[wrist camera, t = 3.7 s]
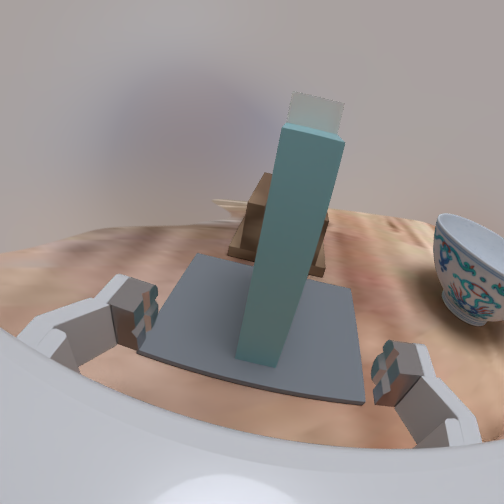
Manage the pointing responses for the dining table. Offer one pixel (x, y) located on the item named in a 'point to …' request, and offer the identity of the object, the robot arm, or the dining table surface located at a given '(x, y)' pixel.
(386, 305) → the dining table surface
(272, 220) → the teal rectangular block
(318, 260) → the rack
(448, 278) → the chinaware
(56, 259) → the dining table surface
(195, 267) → the mat
